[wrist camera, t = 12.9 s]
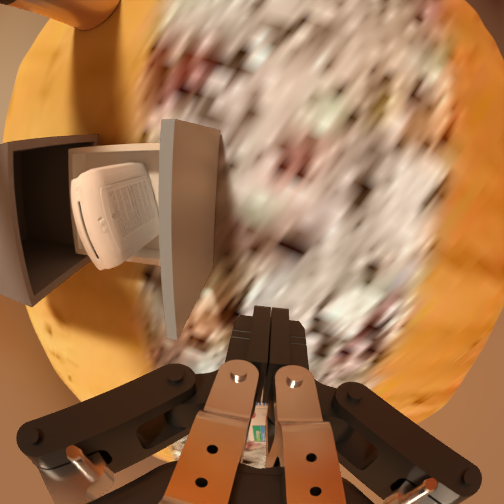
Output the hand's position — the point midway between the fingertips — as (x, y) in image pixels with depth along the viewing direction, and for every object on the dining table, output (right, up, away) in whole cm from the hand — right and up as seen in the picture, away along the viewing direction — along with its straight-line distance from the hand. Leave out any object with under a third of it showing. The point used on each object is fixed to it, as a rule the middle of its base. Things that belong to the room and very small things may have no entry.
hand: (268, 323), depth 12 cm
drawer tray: (-15, +10, +23) cm, 29 cm away
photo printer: (-15, +10, +21) cm, 27 cm away
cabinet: (-33, +13, +24) cm, 42 cm away
